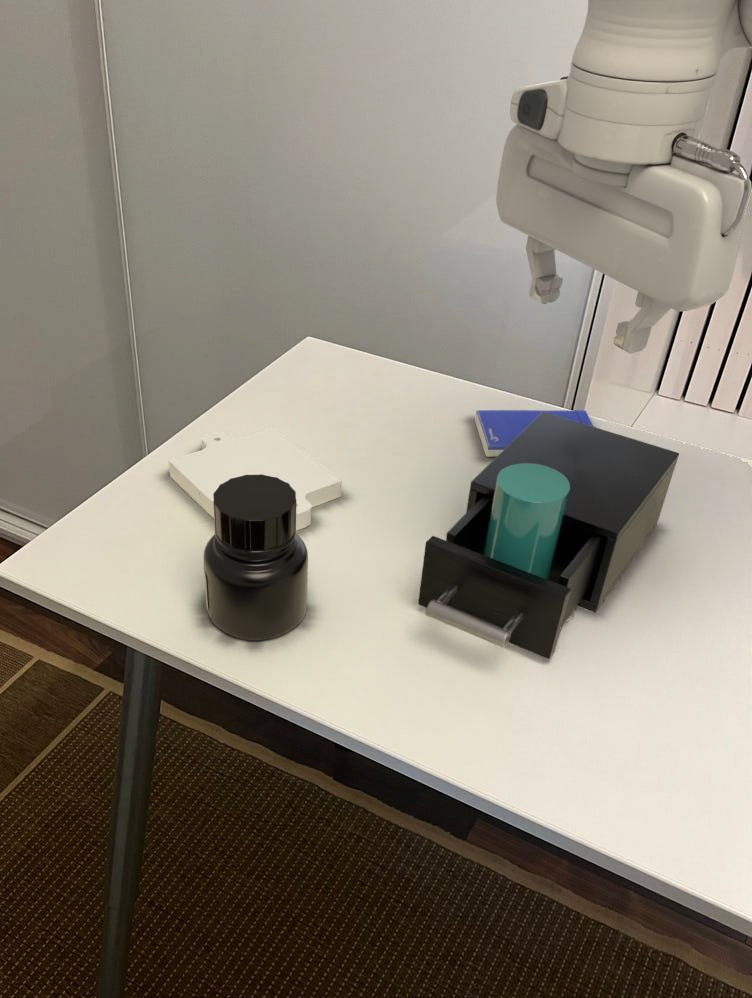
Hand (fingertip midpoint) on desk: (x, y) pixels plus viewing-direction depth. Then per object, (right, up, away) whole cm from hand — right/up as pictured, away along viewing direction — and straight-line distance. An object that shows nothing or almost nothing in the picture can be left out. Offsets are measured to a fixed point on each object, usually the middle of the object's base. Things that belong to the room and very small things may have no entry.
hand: (584, 323), depth 72 cm
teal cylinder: (-2, -19, +14) cm, 24 cm away
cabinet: (+5, -14, +22) cm, 27 cm away
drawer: (-2, -20, +14) cm, 25 cm away
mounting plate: (-25, -8, +30) cm, 40 cm away
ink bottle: (-24, -21, +15) cm, 36 cm away
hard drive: (+6, -1, +37) cm, 37 cm away
